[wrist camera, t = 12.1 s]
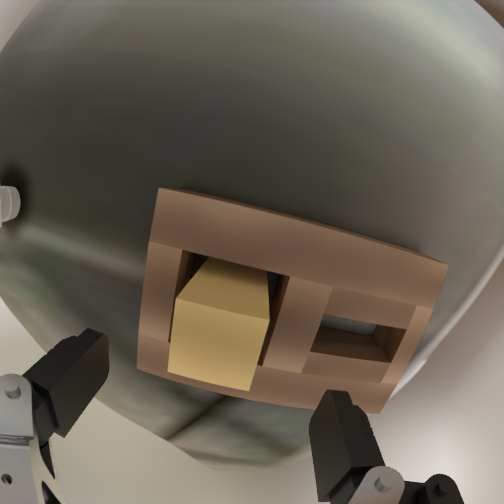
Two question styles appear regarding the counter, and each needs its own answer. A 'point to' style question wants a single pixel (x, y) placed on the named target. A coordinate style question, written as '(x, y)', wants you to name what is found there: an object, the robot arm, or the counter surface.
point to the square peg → (220, 324)
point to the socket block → (293, 298)
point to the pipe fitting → (9, 203)
